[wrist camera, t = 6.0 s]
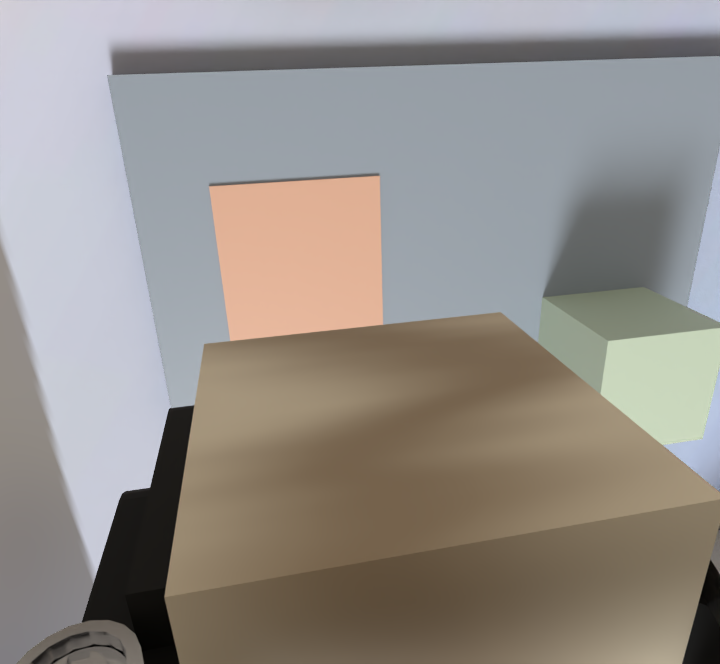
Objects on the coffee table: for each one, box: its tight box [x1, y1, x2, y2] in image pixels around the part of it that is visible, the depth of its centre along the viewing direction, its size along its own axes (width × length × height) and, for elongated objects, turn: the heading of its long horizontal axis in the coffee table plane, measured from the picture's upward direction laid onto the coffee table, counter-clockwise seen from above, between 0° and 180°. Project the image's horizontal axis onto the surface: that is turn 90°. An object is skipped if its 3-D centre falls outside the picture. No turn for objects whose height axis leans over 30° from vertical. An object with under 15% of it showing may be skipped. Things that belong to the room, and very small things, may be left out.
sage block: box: [538, 287, 720, 445], centre depth 24 cm, size 5×5×5 cm
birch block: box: [164, 312, 720, 664], centre depth 8 cm, size 5×5×5 cm
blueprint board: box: [107, 56, 720, 408], centre depth 24 cm, size 24×15×1 cm, turn 92°
